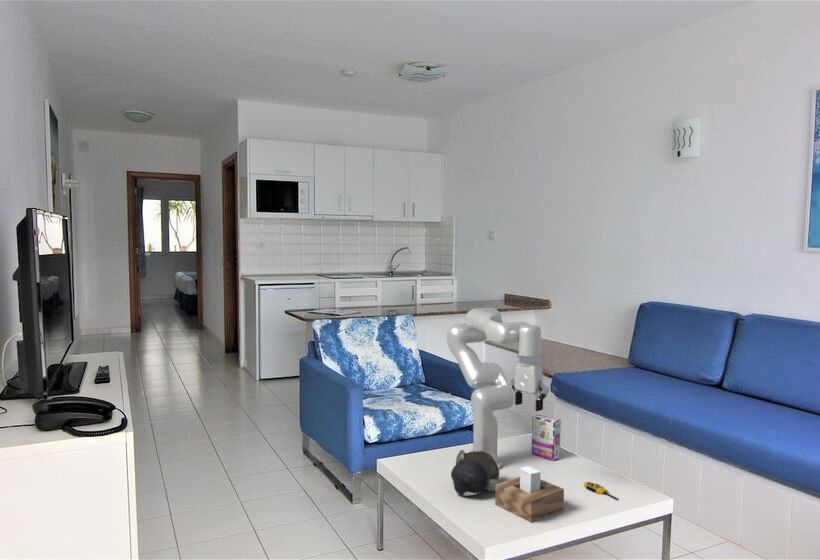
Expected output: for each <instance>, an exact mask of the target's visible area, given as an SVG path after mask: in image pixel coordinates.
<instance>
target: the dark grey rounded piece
mask: <svg viewBox="0 0 820 560" xmlns="http://www.w3.org/2000/svg"><path fill="white" fill-rule="evenodd" d="M499 476H500V469H498V466H497V464H496V462H495V461H494V459H493V457H492V456H491V455H489V454H488V453H486V452H483V451H474V452H470V451H469V452H465V450H463V449H460V451H459V452H458V454H457V455H456V458H455V464H454V466H453V468H452V469H451V472H450V480H451V485H452V486H453V488H454V490H455V492H456V493H457V495H459V496H465V497H466V496H467V497H468V496H474V495H477V494H479V493H482V492H483V491H484V490H487V491H489V492H495V491H496V484H499V483H502V482H503V480H500V478H499Z"/></svg>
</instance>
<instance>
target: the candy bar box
mask: <svg viewBox="0 0 820 560" xmlns="http://www.w3.org/2000/svg"><path fill="white" fill-rule="evenodd" d="M531 418H532V419H531V421H532V422H531V428H532V429H531V455H532V456H536V457H539V458H543V459H545V460H549V461H553V462H554V461H557V460H559V459H560V458H561V424H562V423H561V421H562V420H561V419H558V418H555V417H550V416H546V415H542V414H535V415H533V416H532V417H531Z"/></svg>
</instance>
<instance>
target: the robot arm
mask: <svg viewBox="0 0 820 560" xmlns="http://www.w3.org/2000/svg"><path fill="white" fill-rule="evenodd" d="M487 340H489V341H491V342H494V343H497V344H500V345H507V344H518V354H517V358H518V361H517V362H516V365H515V371H514V378H511V379H510V381H508V379H507V376H506V375H505V372H504V371H503V369H502V367H501V366H500V365H499V364H497V363H495V362H481V359H480V358H479V356H478V354H477V353H476V351H475V350H474V349H472V348H471V347H470V346H469V345H467V344H475V343H476V344H477V343H482V342H485V341H487ZM541 342H542V330H541V327H540V326H538V325H536V324H530V323H528V322H526V321H512V322H510V321H509V322H503V318H502V315H501V313H500V311H499V310H498V309H497V308H495V307H477V308H476V307H475V308H472V309H470V310H468V312H466V314H465V322H463V323H462V322H460V323H454V324H453V325H451V326H449V328H448V329H447V331H446V343H447V346H448V348H449V350H450V352H451V354H452V355H453V357H454V358H455V359H456V361H457V363H458V366H459V369H460V370H461V373H462V375H463V378H464V379H465V382H466V383H467V385H468V386H469V388H472V389H475V390H473V392H472V394H471V398H470V401H471V406H472V407H471V408H472V416H473V424H472V425H473V426H472V427H473V433H472V434H473V440H472V441H473V442H472V444H473V445H472V446H473V447H472V448H473V449H470V451H469V452H474V451H483V452H486V453H488V454H489V455H491V456H492V457H493V459H494V461H495V462H496V464H497V466H498V469H499V470H500V469H501V467H502V462H501V461H499V460H498V428H499V427H498V426H499V425H498V420H497V418H496V416H495V414H494V413H493V412H495V411H500V410H501V411H502V410H506V409H509V408H512V406H513V405H514V404H515V406H519V405H523V393H527V394H530V395H534V397H535V398H536V399H535V409H534V410H535V411H536V412H540V411H543V410H544V400H545V398H546V397H547V396H548V394H549V392H550V389H549V387H548V386H546V385H545V384H544V374H543V373H544V372H543V367H542V364H541V353H542V351H541V350H542V349H541V345H542V343H541ZM509 382H510V383H509Z"/></svg>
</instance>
